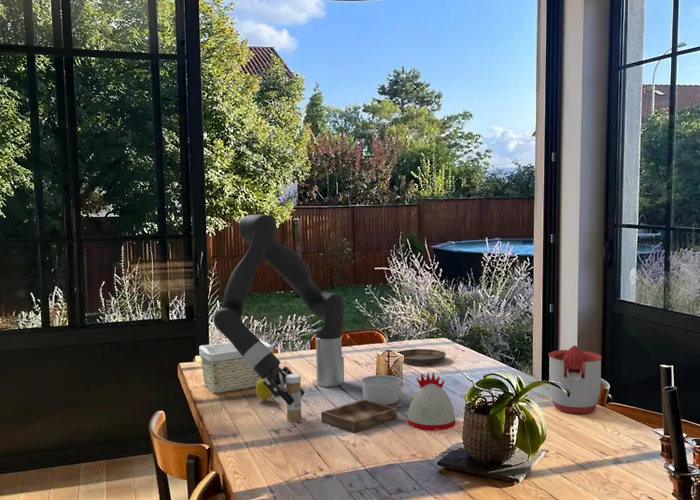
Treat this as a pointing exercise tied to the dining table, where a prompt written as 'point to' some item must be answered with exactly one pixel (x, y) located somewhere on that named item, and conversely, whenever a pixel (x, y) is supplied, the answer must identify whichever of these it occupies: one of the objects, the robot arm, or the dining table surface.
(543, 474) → the dining table surface
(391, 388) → the ramekin
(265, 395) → the lemon
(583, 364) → the citrus juicer
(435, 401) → the kitchen timer
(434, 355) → the plant saucer
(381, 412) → the serving box
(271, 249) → the robot arm
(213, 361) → the storage basket
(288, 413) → the sprinkles bottle
